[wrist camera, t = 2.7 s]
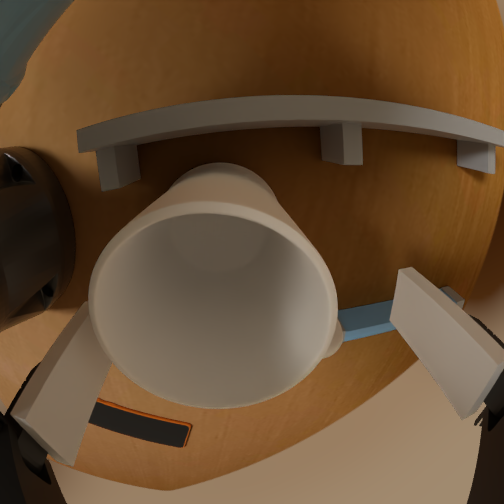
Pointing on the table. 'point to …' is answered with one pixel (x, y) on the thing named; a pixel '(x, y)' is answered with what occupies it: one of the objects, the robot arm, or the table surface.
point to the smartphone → (139, 424)
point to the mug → (214, 294)
